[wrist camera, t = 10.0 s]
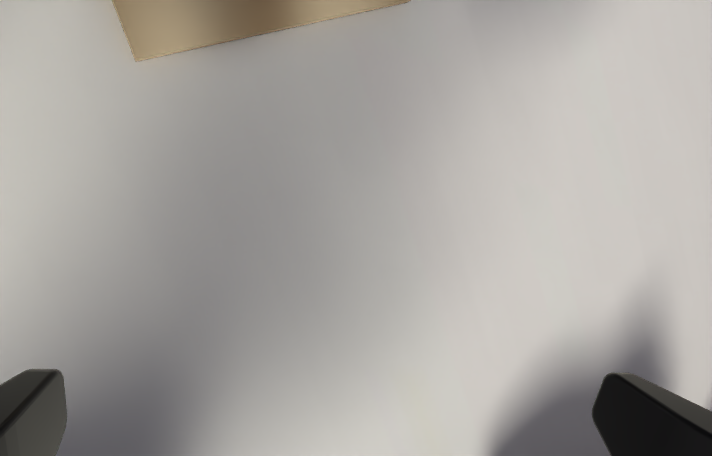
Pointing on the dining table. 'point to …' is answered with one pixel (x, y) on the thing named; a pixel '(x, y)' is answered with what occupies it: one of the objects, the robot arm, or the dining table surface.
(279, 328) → the dining table surface
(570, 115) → the dining table surface
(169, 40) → the tan wooden tray
